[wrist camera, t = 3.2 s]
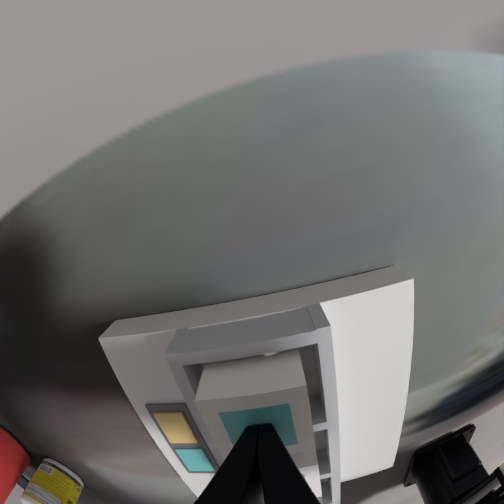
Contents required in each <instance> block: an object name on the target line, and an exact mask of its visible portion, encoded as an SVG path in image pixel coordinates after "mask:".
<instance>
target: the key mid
mask: <svg viewBox="0 0 504 504" xmlns="http://www.w3.org/2000/svg"><path fill="white" fill-rule="evenodd" d="M290 455H291V457H292V459H293V460H294V462H295V464H296V465H297V467H298V469H299V470H300V472H301V473H302V475H303V477H304V478H305V480H306V481H307V483H308V485H309V486H310V488H311V489H312V492H314V494H315V495H316V497H322V490H321V482H320V474H319V466H318V460H317V455H316V450H315V449H314V450H309V451H304V452H298V453H292V454H290Z"/></svg>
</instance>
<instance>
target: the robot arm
mask: <svg viewBox="0 0 504 504" xmlns="http://www.w3.org/2000/svg"><path fill="white" fill-rule="evenodd" d="M475 429H476V427H475V425H474V424H472V425H470V426H468V427H466V428H465V429H463V430H461V431H459V432H457V433H455V434H453V435H451V436H449V437H447V438H445V439H443V440H441V441H439V442H437V443H435V444H433V445H431V446H429V447H426V448H424V449H422V450H419V451H417V452H416V453H415V454H414V455H413V457H412V460H411V463H410V466H409V469H408V471H407V474H406V477H405V480H404V482H403V485H404V487H407V486H410V485H412V484H415V483H416V484H417V487H418V489H419V491H420V494H421V496H422V498H423V501H424V503H425V504H504V470H503V469H501V468H500V467H498V468H496V469H495V470H494V472H493V473H492V474H491V475H490V476H489V475H488V473H487V471H486V470H485V468H484V466H483V465H482V462H481V460H480V459H479V457H478V455H477V454H476V452H475V451H474V449H473V448H472V446H471V445H470V443H469V442H470V439H471V437H472V435H473V433H474V431H475ZM498 484H501V487H500V488H498V489H497V490H496V491H495V490H494V488H495V487H496V486H497V485H498ZM492 489H493V490H492ZM487 493H488V494H487ZM194 504H321V503H320V501H319V500H318V499H317V497H316V495H315V494H314V492H312V489H311V488H310V486H309V485H308V483H307V481H306V480H305V478H304V477H303V475H302V473H301V472H300V470H299V469H298V467H297V465H296V464H295V462H294V460H293V459H292V457H291V455H290V454H289V452H288V450H287V448H286V447H285V445H284V443H283V442H282V440H281V438H280V436H279V435H278V433H277V431H276V429H275V428H274V426H273V424H272V423H264V424H260V425H257V424H256V425H248V426H246V427H245V429H244V430H243V432H242V434H241V435H240V437H239V438H238V440H237V442H236V443H235V445H234V446H233V448H232V449H231V451H230V452H229V454H228V455H227V457H226V458H225V460H224V462H223V463H222V464H221V466H220V467H219V469H218V470H217V472H216V473H215V475H214V476H213V478H212V479H211V481H210V482H209V483H208V485H207V486H206V488H205V489H204V490H203V492H202V493H201V495H200V496H199V497H198V500H196V501H195V503H194Z"/></svg>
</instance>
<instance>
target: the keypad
mask: <svg viewBox="0 0 504 504" xmlns="http://www.w3.org/2000/svg"><path fill="white" fill-rule="evenodd" d="M413 325H414V278H412V277H411V276H409V275H408V274H406V273H405V272H403V271H402V270H400V269H398V268H397V267H395V266H390V267H386V268H382V269H378V270H374V271H370V272H366V273H362V274H358V275H354V276H349V277H345V278H341V279H337V280H332V281H328V282H324V283H319V284H315V285H310V286H306V287H301V288H296V289H292V290H287V291H282V292H277V293H272V294H267V295H262V296H257V297H252V298H247V299H242V300H237V301H231V302H226V303H220V304H215V305H209V306H204V307H198V308H192V309H186V310H180V311H174V312H168V313H161V314H155V315H148V316H141V317H135V318H128V319H120V320H115V321H114V322H113V323H112V324H111V325H110V326H109V328H108V329H107V330H106V331H105V332H104V333H103V334H102V335H101V336H100V337H99V338H98V339H99V342H100V344H101V346H102V348H103V350H104V352H105V355H106V357H107V359H108V361H109V363H110V365H111V367H112V369H113V371H114V373H115V375H116V377H117V379H118V381H119V383H120V384H121V386H122V388H123V390H124V392H125V394H126V395H127V397H128V399H129V401H130V402H131V404H132V406H133V408H134V409H135V411H136V413H137V414H138V416H139V418H140V419H141V421H142V422H143V424H144V426H145V427H146V429H147V430H148V432H149V433H150V435H151V436H152V438H153V439H154V441H155V442H156V444H157V445H158V447H159V448H160V450H161V451H162V453H163V454H164V455H165V457H166V458H167V459H168V461H169V462H170V464H171V465H172V466H173V468H174V469H175V470H176V471H177V473H178V474H179V475H180V477H181V478H182V479H183V480H184V482H185V483H186V484H187V485H188V487H189V488H190V489H191V490H192V491H193V493H194V494H195V495H196V496H197V497H199V496H200V495H201V493H202V492H203V490H204V489H205V488H206V486H207V485H208V483H209V482H210V481H211V479H212V478H213V476H214V475H215V473H216V472H217V470H218V469H219V467H220V466H221V464H222V463H223V462H224V459H223V457H222V455H221V453H220V451H219V450H218V448H217V446H216V444H215V442H214V440H213V438H212V436H211V434H210V432H209V430H208V428H207V426H206V424H205V422H204V420H203V418H202V416H201V414H200V412H199V410H198V408H197V406H196V403H195V401H194V400H195V397H196V393H197V389H198V386H199V382H200V379H201V375H202V372H203V368H204V365H208V364H216V363H224V362H231V361H238V360H244V359H250V358H256V357H262V356H268V355H273V354H279V353H284V352H289V351H294V350H299V354H300V358H301V362H302V367H303V371H304V376H305V380H306V385H307V391H308V397H309V404H310V410H311V417H312V423H313V430H314V437H315V444H316V449H315V450H316V455H317V460H318V466H319V474H320V482H321V490H322V501H323V504H340V482H344V481H348V480H352V479H356V478H359V477H363V476H366V475H369V474H372V473H376V472H379V471H382V470H385V469H388V468H390V467H393V464H394V460H395V456H396V452H397V448H398V444H399V439H400V434H401V429H402V424H403V419H404V413H405V407H406V401H407V394H408V386H409V378H410V369H411V358H412V345H413Z"/></svg>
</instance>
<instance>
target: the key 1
mask: <svg viewBox="0 0 504 504" xmlns="http://www.w3.org/2000/svg"><path fill="white" fill-rule="evenodd" d="M194 401H195V403H196V406H197V408H198V410H199V412H200V414H201V416H202V418H203V420H204V422H205V424H206V426H207V428H208V430H209V432H210V434H211V436H212V438H213V440H214V442H215V444H216V446H217V448H218V450H219V451H220V453H221V455H222V457H223V459H224V460H225V458H226V457H227V455H228V454H229V452H230V451H231V449H232V448H233V446H234V445H235V443H236V442H237V440H238V438H239V437H240V435H241V434H242V432H243V430H244V429H245V427H246V426H248V425H256V424H257V425H260V424H264V423H272V424H273V426H274V428H275V429H276V431H277V433H278V435H279V436H280V438H281V440H282V442H283V443H284V445H285V447H286V448H287V450H288V452H289V454H292V453H298V452H304V451H309V450H314V449H316V444H315V437H314V430H313V423H312V417H311V410H310V404H309V397H308V391H307V385H306V380H305V376H304V371H303V367H302V362H301V358H300V354H299V350H294V351H289V352H284V353H279V354H273V355H268V356H262V357H256V358H250V359H244V360H238V361H231V362H224V363H216V364H208V365H204V368H203V372H202V375H201V379H200V382H199V386H198V389H197V393H196V397H195V400H194Z"/></svg>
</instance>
